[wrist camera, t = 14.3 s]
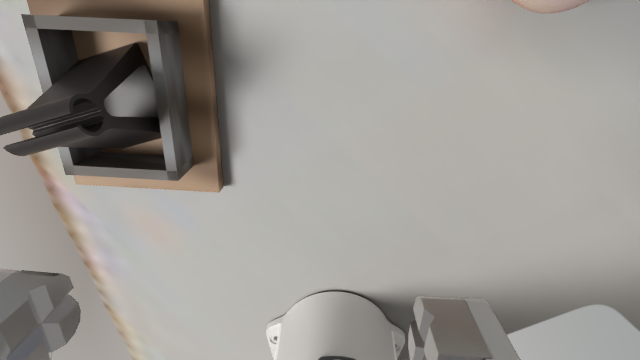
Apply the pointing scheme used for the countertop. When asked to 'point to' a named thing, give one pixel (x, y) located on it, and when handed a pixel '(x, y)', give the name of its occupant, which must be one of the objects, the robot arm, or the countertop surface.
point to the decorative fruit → (549, 5)
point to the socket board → (168, 77)
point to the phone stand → (92, 106)
